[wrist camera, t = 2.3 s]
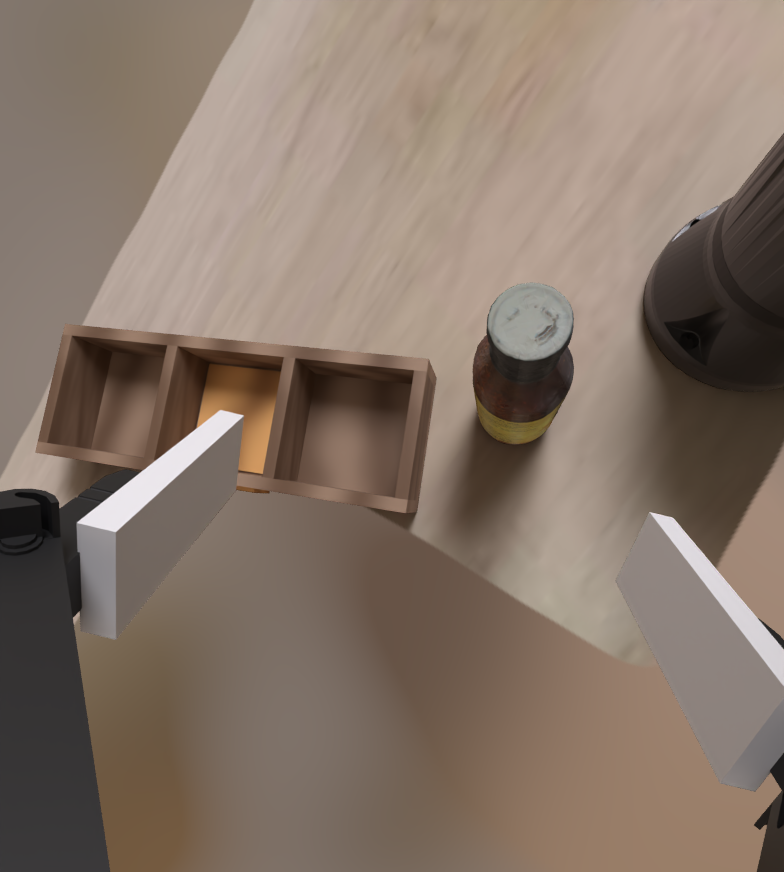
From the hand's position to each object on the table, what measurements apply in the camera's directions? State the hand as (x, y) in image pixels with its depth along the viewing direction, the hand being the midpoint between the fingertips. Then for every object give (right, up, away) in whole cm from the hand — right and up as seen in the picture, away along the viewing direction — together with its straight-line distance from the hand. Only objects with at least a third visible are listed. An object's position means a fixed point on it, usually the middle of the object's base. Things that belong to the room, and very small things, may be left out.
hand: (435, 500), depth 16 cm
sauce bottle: (+9, +4, +27) cm, 29 cm away
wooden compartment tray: (-15, +3, +31) cm, 35 cm away
